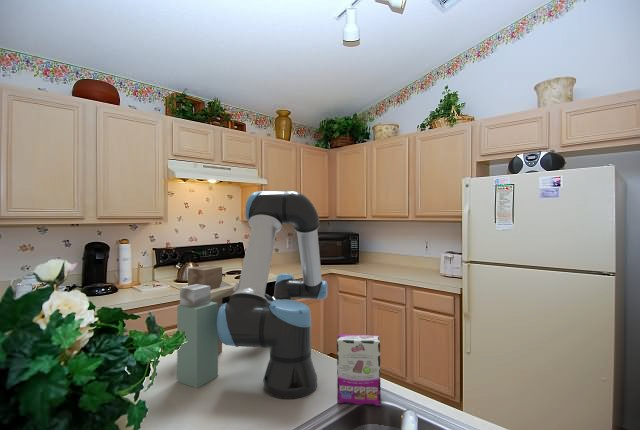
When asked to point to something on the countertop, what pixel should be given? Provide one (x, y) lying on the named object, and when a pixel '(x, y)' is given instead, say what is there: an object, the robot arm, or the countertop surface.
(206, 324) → the sage block
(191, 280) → the walnut pillar
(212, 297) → the meat mallet
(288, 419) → the countertop surface
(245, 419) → the countertop surface
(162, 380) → the countertop surface
